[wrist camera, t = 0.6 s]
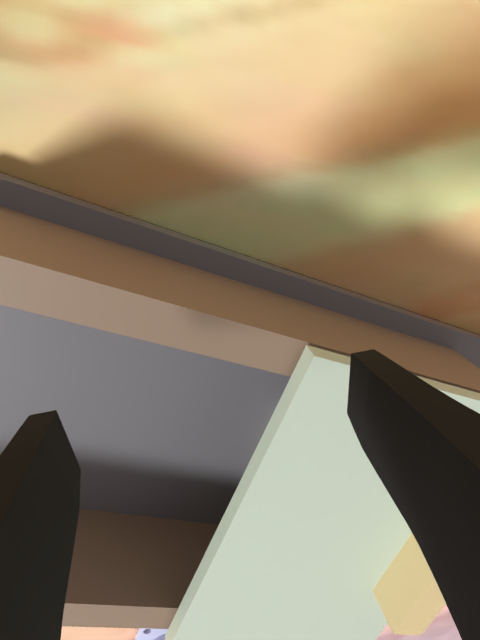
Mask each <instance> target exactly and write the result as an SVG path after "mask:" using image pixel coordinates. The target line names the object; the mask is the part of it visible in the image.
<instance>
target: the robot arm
mask: <svg viewBox="0 0 480 640" xmlns="http://www.w3.org/2000/svg"><path fill="white" fill-rule="evenodd" d="M347 414H348V417H349V419H350V422H351V424H352V426H353V429H354V431H355V433H356V436H357V438H358V440H359V442H360V445H361V447H362V449H363V451H364V452H365V454H366V456H367V457H368V459H369V461H370V463H371V464H372V466H373V468H374V469H375V471H376V473H377V474H378V476H379V478H380V480H381V481H382V483H383V485H384V486H385V488H386V490H387V491H388V493H389V495H390V496H391V498H392V500H393V501H394V503H395V505H396V506H397V508H398V510H399V511H400V513H401V515H402V516H403V518H404V520H405V521H406V523H407V525H408V526H409V528H410V530H411V532H412V534H413V535H414V537H415V539H416V541H417V543H418V545H419V547H420V549H421V551H422V553H423V555H424V557H425V559H426V561H427V563H428V566H429V568H430V570H431V572H432V574H433V576H434V578H435V580H436V582H437V584H438V587H439V589H440V591H441V593H442V595H443V598H444V600H445V602H446V604H447V607H448V609H449V611H450V613H451V615H452V618H453V620H454V622H455V624H456V626H457V629H458V631H459V633H460V636H461V638H462V640H480V414H479V413H478V412H476V411H474V410H472V409H470V408H468V407H467V406H465V405H463V404H461V403H460V402H458V401H456V400H455V399H453V398H451V397H449V396H448V395H446V394H444V393H443V392H441V391H440V390H438V389H436V388H435V387H433V386H431V385H430V384H428V383H427V382H425V381H423V380H422V379H420V378H419V377H417V376H416V375H414V374H412V373H411V372H409V371H408V370H406V369H405V368H403V367H402V366H400V365H398V364H397V363H395V362H394V361H392V360H391V359H389V358H388V357H386V356H384V355H383V354H381V353H380V352H378V351H376V350H375V349H372V350H367V351H361V352H356V353H351V361H350V375H349V390H348V404H347ZM80 477H81V468H80V466H79V463H78V461H77V459H76V456H75V454H74V451H73V449H72V447H71V444H70V442H69V439H68V437H67V434H66V432H65V430H64V427H63V425H62V422H61V420H60V418H59V415H58V413H57V410H54V411H49V412H43V413H38V414H33V415H29V416H28V418H27V419H26V420H25V422H24V423H23V424H22V426H21V427H20V428H19V430H18V431H17V432H16V434H15V435H14V436H13V438H12V439H11V441H10V442H9V443H8V445H7V446H6V448H5V449H4V450H3V452H2V453H1V455H0V640H60V638H61V628H62V620H63V612H64V605H65V599H66V593H67V587H68V580H69V574H70V568H71V562H72V556H73V549H74V543H75V536H76V530H77V523H78V517H79V508H80ZM167 631H168V629H147V628H139V629H138V631H137V633H136V636H135V638H134V640H165V635H166V633H167Z"/></svg>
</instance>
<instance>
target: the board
mask: <svg viewBox="0 0 480 640" xmlns="http://www.w3.org/2000/svg"><path fill="white" fill-rule="evenodd" d="M306 345H309V346H312V347H316V348H319V349H323V350H327V351H330V352H334V353H337V354H341V355H344V356H348V357H351V353H356V352H361V351H367V350H372V349H375V350H376V351H378V352H380V353H381V354H383V355H384V356H386V357H388V358H389V359H391V360H392V361H394V362H395V363H397V364H398V365H400V366H402V367H403V368H405V369H406V370H408V371H409V372H411V373H412V374H414V375H416V376H420V377H423V378H427V379H430V380H434V381H438V382H441V383H445V384H448V385H452V386H455V387H459V388H463V389H466V390H470V391H473V392H477V393H480V335H478V334H475V333H472V332H469V331H466V330H464V329H461V328H458V327H455V326H452V325H449V324H446V323H443V322H440V321H437V320H434V319H431V318H428V317H425V316H422V315H419V314H416V313H413V312H410V311H407V310H404V309H402V308H399V307H396V306H393V305H390V304H387V303H384V302H381V301H378V300H375V299H372V298H369V297H366V296H363V295H360V294H357V293H354V292H351V291H348V290H345V289H343V288H340V287H337V286H334V285H331V284H328V283H325V282H322V281H319V280H316V279H313V278H310V277H307V276H304V275H301V274H298V273H295V272H292V271H289V270H286V269H284V268H281V267H278V266H275V265H272V264H269V263H266V262H263V261H260V260H257V259H254V258H251V257H248V256H245V255H242V254H239V253H236V252H233V251H230V250H227V249H224V248H222V247H219V246H216V245H213V244H210V243H207V242H204V241H201V240H198V239H195V238H192V237H189V236H186V235H183V234H180V233H177V232H174V231H171V230H168V229H165V228H163V227H160V226H157V225H154V224H151V223H148V222H145V221H142V220H139V219H136V218H133V217H130V216H127V215H124V214H121V213H118V212H115V211H112V210H109V209H106V208H104V207H101V206H98V205H95V204H92V203H89V202H86V201H83V200H80V199H77V198H74V197H71V196H68V195H65V194H62V193H59V192H56V191H53V190H50V189H47V188H44V187H42V186H39V185H36V184H33V183H30V182H27V181H24V180H21V179H18V178H15V177H12V176H9V175H6V174H3V173H0V455H1V453H2V452H3V450H4V449H5V448H6V446H7V445H8V443H9V442H10V441H11V439H12V438H13V436H14V435H15V434H16V432H17V431H18V430H19V428H20V427H21V426H22V424H23V423H24V422H25V420H26V419H27V418H28V416H29V415H33V414H38V413H43V412H49V411H54V410H57V413H58V415H59V418H60V420H61V422H62V425H63V427H64V430H65V432H66V434H67V437H68V439H69V442H70V444H71V447H72V449H73V451H74V454H75V456H76V459H77V461H78V463H79V466H80V468H81V477H80V508H79V517H78V523H77V530H76V536H75V543H74V549H73V556H72V562H71V568H70V574H69V580H68V587H67V593H66V599H65V605H64V612H63V620H62V626H78V627H113V628H147V629H169V626H170V624H171V622H172V620H173V618H174V616H175V614H176V612H177V610H178V608H179V606H180V604H181V602H182V600H183V598H184V596H185V594H186V591H187V589H188V587H189V585H190V583H191V581H192V579H193V577H194V575H195V573H196V571H197V569H198V567H199V565H200V563H201V561H202V559H203V557H204V554H205V552H206V550H207V548H208V546H209V544H210V542H211V540H212V538H213V536H214V534H215V532H216V530H217V528H218V526H219V524H220V522H221V519H222V517H223V515H224V513H225V511H226V509H227V507H228V505H229V503H230V501H231V499H232V497H233V495H234V493H235V491H236V489H237V487H238V485H239V482H240V480H241V478H242V476H243V474H244V472H245V470H246V468H247V466H248V464H249V462H250V460H251V458H252V456H253V454H254V452H255V450H256V447H257V445H258V443H259V441H260V439H261V437H262V435H263V433H264V431H265V429H266V427H267V425H268V423H269V421H270V419H271V417H272V415H273V413H274V410H275V408H276V406H277V404H278V402H279V400H280V398H281V396H282V394H283V392H284V390H285V388H286V386H287V384H288V382H289V380H290V378H291V375H292V373H293V371H294V369H295V367H296V365H297V363H298V361H299V359H300V357H301V355H302V353H303V351H304V349H305V347H306Z"/></svg>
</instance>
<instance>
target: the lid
mask: <svg viewBox="0 0 480 640" xmlns="http://www.w3.org/2000/svg"><path fill="white" fill-rule="evenodd" d="M350 361H351V357H348V356H344V355H341V354H337V353H334V352H330V351H327V350H323V349H319V348H316V347H312V346H309V345H306V347H305V349H304V351H303V353H302V355H301V357H300V359H299V361H298V363H297V365H296V367H295V369H294V371H293V373H292V375H291V378H290V380H289V382H288V384H287V386H286V388H285V390H284V392H283V394H282V396H281V398H280V400H279V402H278V404H277V406H276V408H275V410H274V413H273V415H272V417H271V419H270V421H269V423H268V425H267V427H266V429H265V431H264V433H263V435H262V437H261V439H260V441H259V443H258V445H257V447H256V450H255V452H254V454H253V456H252V458H251V460H250V462H249V464H248V466H247V468H246V470H245V472H244V474H243V476H242V478H241V480H240V482H239V485H238V487H237V489H236V491H235V493H234V495H233V497H232V499H231V501H230V503H229V505H228V507H227V509H226V511H225V513H224V515H223V517H222V519H221V522H220V524H219V526H218V528H217V530H216V532H215V534H214V536H213V538H212V540H211V542H210V544H209V546H208V548H207V550H206V552H205V554H204V557H203V559H202V561H201V563H200V565H199V567H198V569H197V571H196V573H195V575H194V577H193V579H192V581H191V583H190V585H189V587H188V589H187V591H186V594H185V596H184V598H183V600H182V602H181V604H180V606H179V608H178V610H177V612H176V614H175V616H174V618H173V620H172V622H171V624H170V626H169V629H168V631H167V633H166V635H165V640H376V639H377V637H378V636H379V634H380V633H381V632H382V630H383V629H384V628H385V626H386V625H387V623H388V624H389V626H390V628H391V630H392V632H393V634H405V635H422V634H423V632H424V631H425V630H426V629H427V627H428V626H429V625H430V623H431V622H432V621H433V620H434V618H435V617H436V616H437V614H438V613H439V612H440V611H441V609H442V608H443V607H444V605H445V604H446V602H445V600H444V598H443V595H442V593H441V591H440V589H439V587H438V584H437V582H436V580H435V578H434V576H433V574H432V572H431V570H430V568H429V566H428V563H427V561H426V559H425V557H424V555H423V553H422V551H421V549H420V547H419V545H418V543H417V541H416V539H415V537H414V535H413V534H412V532H411V530H410V528H409V526H408V525H407V523H406V521H405V520H404V518H403V516H402V515H401V513H400V511H399V510H398V508H397V506H396V505H395V503H394V501H393V500H392V498H391V496H390V495H389V493H388V491H387V490H386V488H385V486H384V485H383V483H382V481H381V480H380V478H379V476H378V474H377V473H376V471H375V469H374V468H373V466H372V464H371V463H370V461H369V459H368V457H367V456H366V454H365V452H364V451H363V449H362V447H361V445H360V442H359V440H358V438H357V436H356V433H355V431H354V429H353V426H352V424H351V422H350V419H349V417H348V414H347V404H348V390H349V375H350ZM417 377H419V378H420V379H422V380H423V381H425V382H427V383H428V384H430V385H431V386H433V387H435V388H436V389H438V390H440V391H441V392H443V393H444V394H446V395H448V396H449V397H451V398H453V399H455V400H456V401H458V402H460V403H461V404H463V405H465V406H467V407H468V408H470V409H472V410H474V411H476V412H478V413H479V414H480V393H477V392H473V391H470V390H466V389H463V388H459V387H455V386H452V385H448V384H445V383H441V382H438V381H434V380H430V379H427V378H423V377H420V376H417Z"/></svg>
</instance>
